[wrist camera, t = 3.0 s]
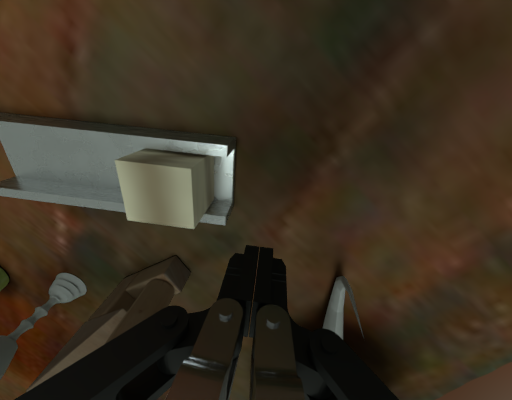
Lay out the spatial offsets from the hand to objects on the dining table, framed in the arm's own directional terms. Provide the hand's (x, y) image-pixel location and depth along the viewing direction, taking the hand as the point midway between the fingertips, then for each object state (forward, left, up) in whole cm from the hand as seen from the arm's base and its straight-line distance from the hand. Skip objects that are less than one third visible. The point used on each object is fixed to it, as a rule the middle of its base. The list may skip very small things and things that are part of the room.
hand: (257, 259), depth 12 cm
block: (0, -9, -12) cm, 15 cm away
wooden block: (+17, -15, -13) cm, 26 cm away
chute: (0, -17, -13) cm, 21 cm away
